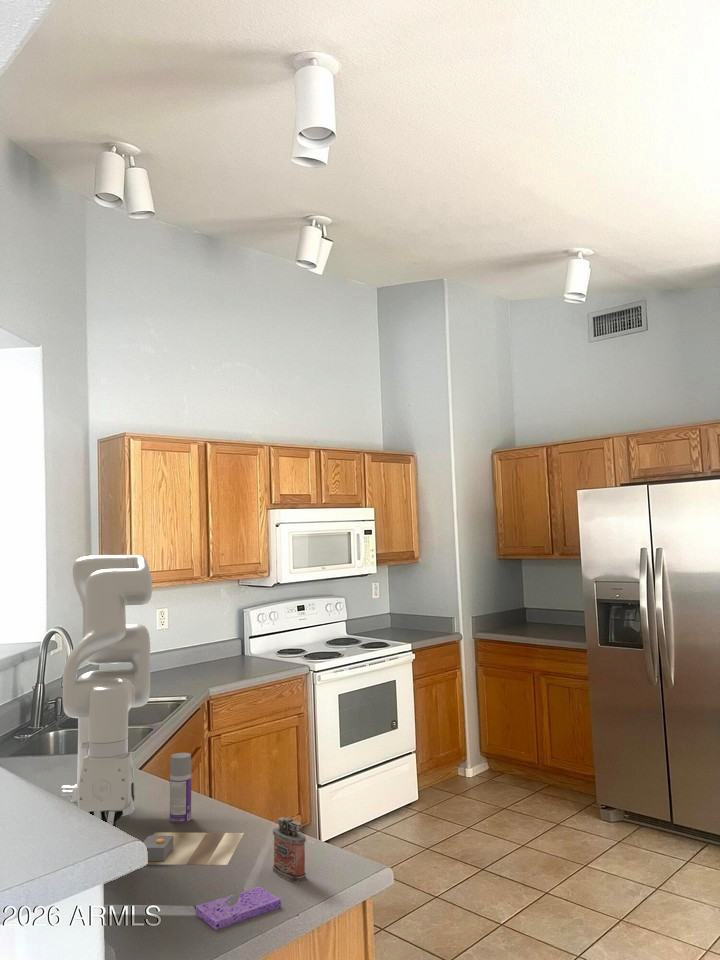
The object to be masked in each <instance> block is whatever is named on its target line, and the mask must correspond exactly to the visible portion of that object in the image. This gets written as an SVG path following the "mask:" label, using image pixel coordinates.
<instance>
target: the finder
mask: <svg viewBox="0 0 720 960" xmlns="http://www.w3.org/2000/svg"><path fill="white" fill-rule="evenodd" d="M143 842H144V843H145V845H146V847H147V851H148V861H165V859H166V858H167V857H168V855H169V854H170V853H171V851H172V850H173V836H153V835H148V836H147V837H146V838H145V840H143Z"/></svg>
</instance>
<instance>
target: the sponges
mask: <svg viewBox="0 0 720 960" xmlns="http://www.w3.org/2000/svg"><path fill="white" fill-rule="evenodd" d="M231 897H234V898H236V897H237V896H236V895H235V894H231V895H229V896H226V897H224V898H223V897H221V898H218V899H214V900H211V901H209V902H204V903H201V904H198V905H196V906H195V912H196V913H195V915H196V916H198V917H199V918H200V919H201V920H203V921H204V922H205V923H206V924H208V925H209V926H210V927H212V928H213V929H214V930H215V931H216V930H218V929H222V928H224V927H227V926H231V925H233V924H236V923H238V922H241V921H245V920H246V919H250V918H253V917H255V916H258V915H261V914H264V913H267V912H270V911H273V910H276V909H278V908H280V906H281V905H282V899H281V898H279V897H278V896H276V895H274V894H272V893H270V892H269V891H267V890H266V889H264V888H263V887H261V886H255V887H252V888H250V889H247V890H244V891H243V890H242V891H241V892H240V894H239V896H238V898H237V900H236V903H235V904H233V903H232V905H231V904H230V903H231V902H232V901H231V900H229V899H231ZM227 900H228V901H227ZM226 902H227V903H226Z"/></svg>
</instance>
